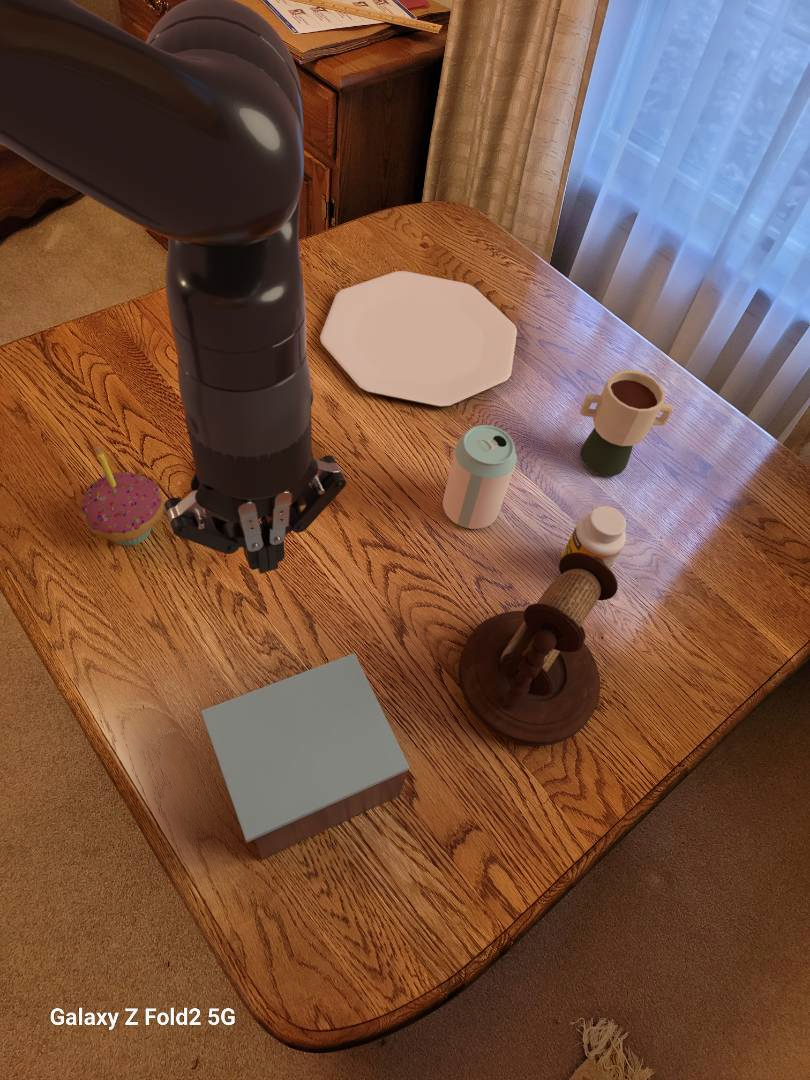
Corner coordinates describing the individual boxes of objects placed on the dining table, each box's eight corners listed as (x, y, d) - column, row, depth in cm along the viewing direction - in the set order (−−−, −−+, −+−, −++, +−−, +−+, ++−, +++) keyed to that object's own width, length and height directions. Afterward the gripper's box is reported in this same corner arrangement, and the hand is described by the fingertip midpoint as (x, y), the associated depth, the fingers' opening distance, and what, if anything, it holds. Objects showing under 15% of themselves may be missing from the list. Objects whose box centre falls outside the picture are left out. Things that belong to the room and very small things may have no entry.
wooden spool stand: (501, 598, 85) (546, 489, 68) (615, 671, 81) (692, 574, 65) (429, 694, 77) (460, 597, 61) (552, 780, 73) (620, 701, 57)
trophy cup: (638, 446, 101) (677, 374, 90) (644, 487, 97) (685, 416, 86) (559, 436, 100) (589, 363, 90) (562, 477, 96) (593, 405, 86)
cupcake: (77, 523, 85) (47, 453, 75) (144, 488, 89) (123, 417, 79) (117, 573, 82) (90, 507, 72) (184, 534, 85) (167, 466, 76)
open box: (261, 860, 66) (256, 839, 60) (220, 743, 72) (211, 712, 66) (399, 796, 71) (408, 770, 65) (350, 690, 77) (354, 656, 70)
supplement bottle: (548, 560, 89) (573, 508, 80) (585, 545, 90) (613, 492, 82) (575, 597, 86) (603, 547, 78) (612, 580, 88) (644, 530, 79)
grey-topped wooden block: (246, 842, 59) (245, 840, 59) (201, 714, 65) (200, 710, 64) (408, 770, 64) (409, 767, 64) (354, 656, 70) (354, 652, 69)
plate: (303, 385, 101) (303, 377, 100) (348, 267, 117) (349, 259, 116) (502, 426, 101) (504, 418, 99) (520, 302, 116) (522, 294, 115)
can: (453, 479, 94) (469, 412, 84) (505, 499, 93) (528, 433, 83) (433, 519, 90) (448, 453, 81) (487, 540, 89) (509, 476, 80)
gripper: (328, 343, 48) (326, 504, 63) (121, 389, 44) (168, 550, 59) (374, 422, 45) (360, 574, 59) (153, 481, 41) (195, 629, 55)
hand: (264, 562), depth 59 cm, fingers closed
